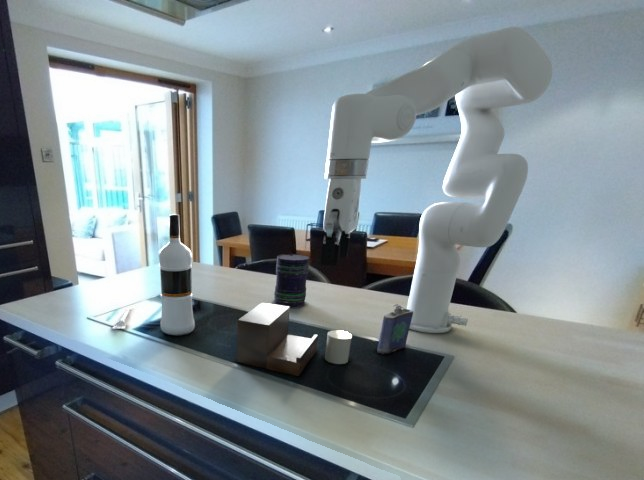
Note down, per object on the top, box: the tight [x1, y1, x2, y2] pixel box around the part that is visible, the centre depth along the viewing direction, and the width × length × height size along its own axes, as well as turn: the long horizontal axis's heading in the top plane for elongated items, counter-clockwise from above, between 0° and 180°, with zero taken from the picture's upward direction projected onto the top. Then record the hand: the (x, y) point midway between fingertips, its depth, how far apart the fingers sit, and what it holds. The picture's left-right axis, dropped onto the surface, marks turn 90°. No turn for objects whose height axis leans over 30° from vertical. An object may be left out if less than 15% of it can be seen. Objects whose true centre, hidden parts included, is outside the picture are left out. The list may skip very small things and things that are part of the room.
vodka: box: [158, 213, 196, 337], centre depth 99 cm, size 9×9×30 cm
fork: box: [111, 306, 132, 330], centre depth 112 cm, size 3×20×2 cm, turn 178°
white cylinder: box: [324, 329, 353, 365], centre depth 86 cm, size 5×5×6 cm
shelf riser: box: [236, 302, 319, 377], centre depth 87 cm, size 14×14×10 cm
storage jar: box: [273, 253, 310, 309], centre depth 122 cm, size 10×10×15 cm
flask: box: [376, 303, 413, 355], centre depth 90 cm, size 9×3×11 cm, turn 121°
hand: (334, 260), depth 81 cm, fingers open, 9 cm apart
